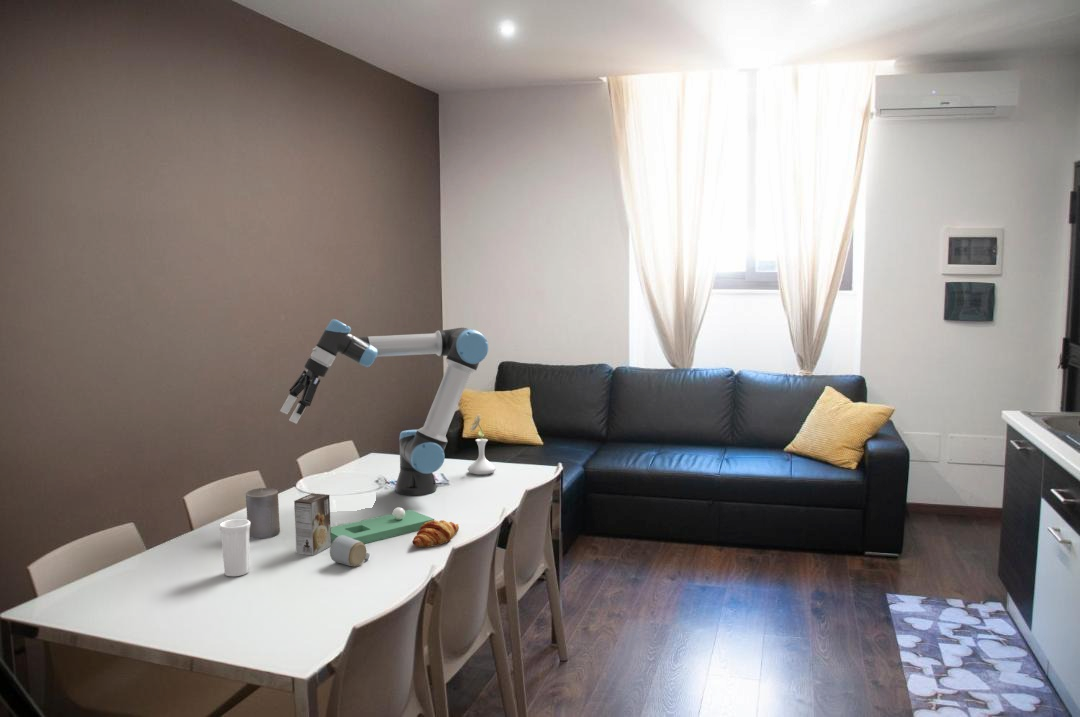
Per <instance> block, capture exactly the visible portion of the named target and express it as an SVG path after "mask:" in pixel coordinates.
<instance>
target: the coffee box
mask: <svg viewBox="0 0 1080 717" xmlns="http://www.w3.org/2000/svg"><path fill="white" fill-rule="evenodd" d="M293 501H294V525H295V526H294V528H295V551H296V552H295V553H296V554H300V555H307V556H315V555H317V554H319V553H321V552H323V551H324V550H326V549H328V548H330V547H331V544H332V541H331V527H332V526H331V507H330V506H331V505H330V494H324V493H313V492H312V493H309V494H307V495H305V496H302V497H300V498H298V499H295V500H293Z"/></svg>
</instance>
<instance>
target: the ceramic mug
mask: <svg viewBox="0 0 1080 717" xmlns="http://www.w3.org/2000/svg"><path fill="white" fill-rule="evenodd" d="M370 555H371V554H370V553H369V552H367V547H366V545H365V544H363V543H362V542H360V541H358V540H355V539H352V538H350V537H347V536H344V535H341V536H338V537H337V538H335V540H334V541H331V546H330V547H329V556H330V558H331V560H332V561H333V562H335V563H338V564H343V565H346V566H350V567H358V566H360V565H361V564H362V563H363V562H364V561H365V559H366V560H369V559H370Z"/></svg>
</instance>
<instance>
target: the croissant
mask: <svg viewBox="0 0 1080 717" xmlns="http://www.w3.org/2000/svg"><path fill="white" fill-rule="evenodd" d="M459 529H460V527H459V524H458V523H454V522H452V521H445V520H439V521H438V520H435V519H434V520H433V521H429V522H426V523H424V524H423V525H422V526H421V527H420V530H418V531H417V533H416V535H415V536H414V538H413V540H412V542H411V543H412V544H413V546H416V547H421V548H422V547H423V548H431V547H434V546H440V545H442V544H446V543H448V542H449V541H451V540H452V539H453V537H455V535H456V534H457V533H458V531H459Z"/></svg>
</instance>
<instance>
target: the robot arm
mask: <svg viewBox="0 0 1080 717" xmlns="http://www.w3.org/2000/svg"><path fill="white" fill-rule="evenodd" d="M351 330H352V328H351V326H349V325H347V324H345V323H343V322H341V321H340V320H338V319H336V318H333V319H331V320H330V322H329V323H328V324H327V326H326V328H325V329H324V331H323V332H322V334H321V336H320V338H319V340H318V341H317V344H316V346H315V347H312V352H311V354H310V357H309V358H308V359H307V360H306V362H305V364H304V368H305V369H303V371H302V373H301V375H299V377H298V378H297V379H296V381H295V382H294V383H293V384H292V386H291V387H290V388H289V389H288V390H289V394H288V396H287V398H286V400H285V401H284V402H283V404H282V407H281V408H280V409H279V412H281V413H282V414H285V415H288V414H289V413H290V411H291V409H292V407H293V406H294V404H295V402H296V400H297V399H298V398H299V394H300V393H302V395H301V399H300V400H299V401H297V405H296V407H295V409H294V410H293V412H292V414H290V417H289V419H288V421H289V422H291V423H294V424H295V425H298V422H299V420H300V419H301V417H302V416H303V414H304V412H305V410H306V408H307V407H311V405H312V401H313V399H314V397H315V394H316V391H317V389H318V386H319V384H320V382H321V379H320V378H319V376H320V377H322V378H324V377H325V376H326V374H327V373H328V371H329V367H331V366H332V365H333V363H334V361H335V359H336V357H337V355H338V354H339V353H340V354H341V355H343V356H345V357H346V358H348V359H350V360H352V361H354V362H356V363H357V364H359V365H361V366H364V368H369V367H371V366H372V365H373V364H374V362H375V360H376V359H377V358H378V357H398V356H417V355H433V354H435V355H437V356H438V357H446V359H445V360H446V363H447V367H446V369H445V372H444V375H443V376H442V379H441V382H440V385H439V387H438V389H437V392H436V394H435V397H434V398H433V402H432V404H431V406H430V409H429V411H428V414H427V416H426V419H425V422H424V423H423V426H422V427H420V428H418V429H408V430H407V429H406V430H403V431H402V430H401V432H400V433H399V438H398V440H399V469H400V470H399V473H398V477H397V481H396V484H395V492H396V493H397V494H400V495H404V496H424V495H429V494H432V493H435V492H436V491H437V482H436V479H435V476H434V473H435V472H437V471H438V470H439V469H440V468H441V467H442V466H443V464H444V462H445V449H446V446H447V444H448V438H447V436H446V435H447V433H448V430H449V428H450V425H451V422H452V420H453V418H454V415H455V413H456V410H457V408H458V406H459V403H460V401H461V399H462V396H463V393H464V390H465V389H466V385H467V383H468V380H469V378H470V375H471V374H473V373H475V372H477V371H478V370H477V369H478V367H479V364H480V363H481V362H482V361H483V360H485V359H486V357H487V355H488V352H489V343H488V340H487V338H486V336H484V334H482V333H481V332H480V331H478V330H476V329H473V328H468V327H456V328H450V329H449V328H448V329H442V330H441V329H439V330H436V331H434V332H433V333H413V334H393V335H374V336H359V337H358V336H355V335H353V334H351ZM306 369H307V370H306ZM302 391H303V392H302Z"/></svg>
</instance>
